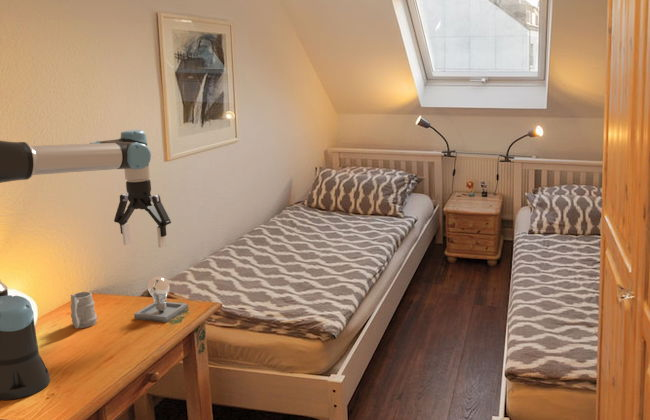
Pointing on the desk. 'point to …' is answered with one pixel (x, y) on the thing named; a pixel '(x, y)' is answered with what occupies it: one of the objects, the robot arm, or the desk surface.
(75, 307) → the mug
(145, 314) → the dish
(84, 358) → the desk surface
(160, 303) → the light bulb
